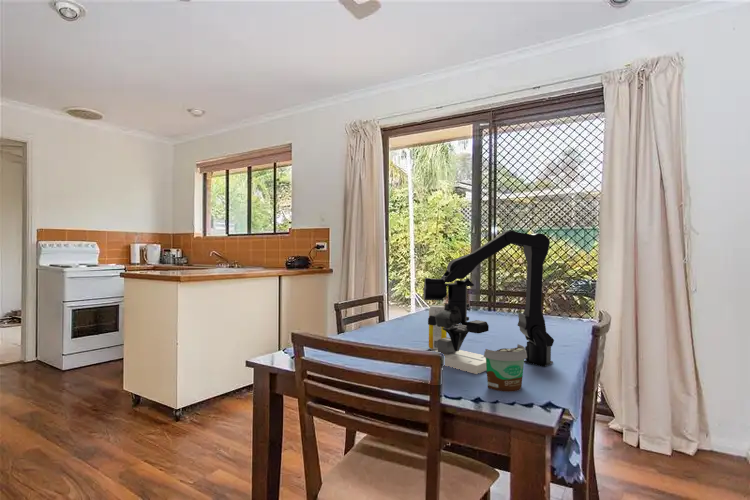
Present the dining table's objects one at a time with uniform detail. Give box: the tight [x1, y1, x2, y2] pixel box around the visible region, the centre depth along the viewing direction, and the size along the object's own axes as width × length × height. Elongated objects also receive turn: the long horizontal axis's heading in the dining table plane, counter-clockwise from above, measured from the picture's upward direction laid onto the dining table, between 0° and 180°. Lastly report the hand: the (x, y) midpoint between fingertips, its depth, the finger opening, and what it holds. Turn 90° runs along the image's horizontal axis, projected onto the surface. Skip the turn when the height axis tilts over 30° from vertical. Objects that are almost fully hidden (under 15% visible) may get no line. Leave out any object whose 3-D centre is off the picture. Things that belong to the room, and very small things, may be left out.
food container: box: [483, 343, 527, 393], centre depth 102 cm, size 12×6×10 cm, turn 117°
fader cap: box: [438, 336, 456, 355], centre depth 127 cm, size 4×5×4 cm
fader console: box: [435, 349, 487, 375], centre depth 123 cm, size 18×11×2 cm, turn 44°
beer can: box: [428, 304, 448, 352], centre depth 140 cm, size 6×6×15 cm
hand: (456, 351), depth 124 cm, fingers closed
